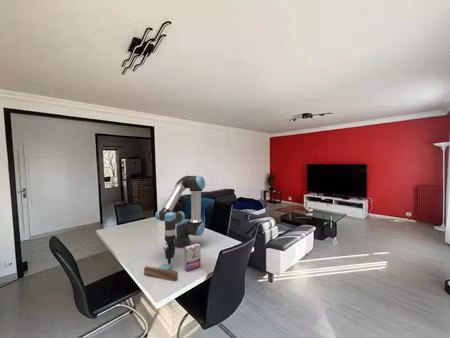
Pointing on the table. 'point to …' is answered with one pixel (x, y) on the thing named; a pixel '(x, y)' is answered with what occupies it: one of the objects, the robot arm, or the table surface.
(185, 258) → the candy bar box
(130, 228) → the table surface
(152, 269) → the curved walnut bar
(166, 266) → the teal block
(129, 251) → the table surface
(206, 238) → the table surface
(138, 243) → the table surface
